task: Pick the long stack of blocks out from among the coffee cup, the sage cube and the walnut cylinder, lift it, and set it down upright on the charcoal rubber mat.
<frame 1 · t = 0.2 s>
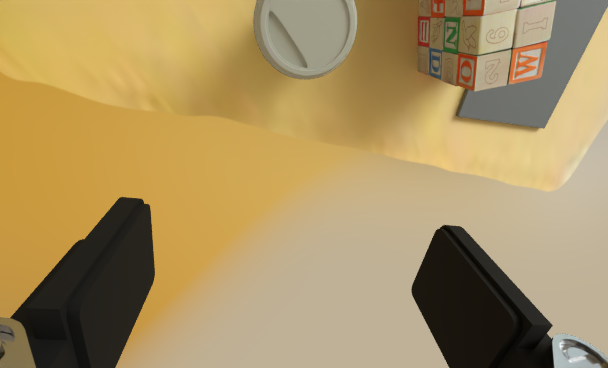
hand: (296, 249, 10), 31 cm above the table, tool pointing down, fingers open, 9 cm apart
charcoal mat: (549, 9, 36), on the table
coffee cup: (296, 23, 35), on the table
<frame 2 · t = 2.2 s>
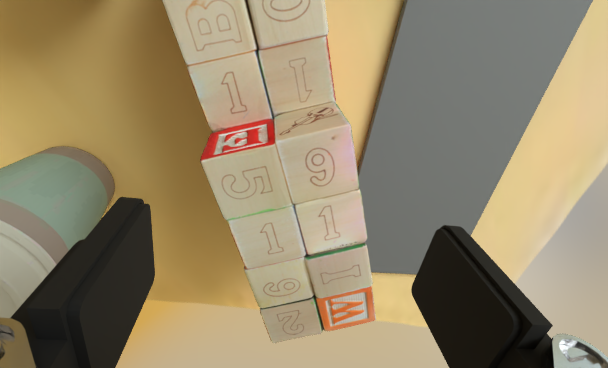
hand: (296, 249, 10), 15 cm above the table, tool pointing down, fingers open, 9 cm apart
stack of blocks: (276, 100, 24), on the table
charcoal mat: (437, 151, 27), on the table
coffee cup: (76, 179, 25), on the table
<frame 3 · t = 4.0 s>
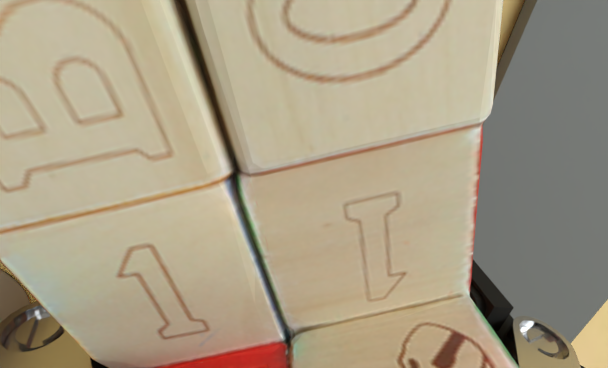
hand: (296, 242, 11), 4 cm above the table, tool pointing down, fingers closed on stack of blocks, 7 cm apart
stack of blocks: (286, 171, 14), on the table, touching gripper
charcoal mat: (535, 242, 17), on the table
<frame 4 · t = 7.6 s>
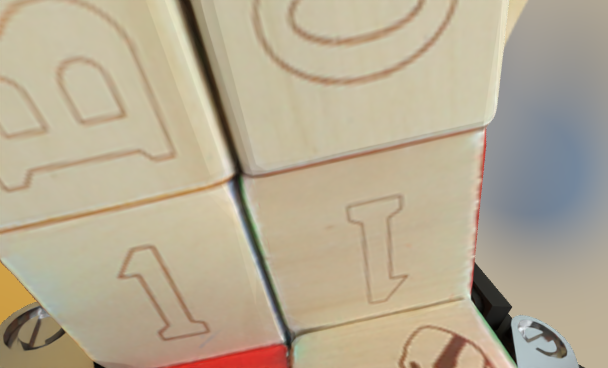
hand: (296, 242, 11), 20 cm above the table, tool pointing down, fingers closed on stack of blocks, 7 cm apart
stack of blocks: (286, 172, 14), point 16 cm above the table, touching gripper
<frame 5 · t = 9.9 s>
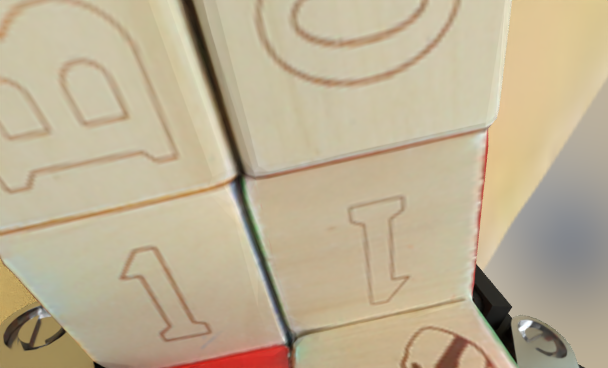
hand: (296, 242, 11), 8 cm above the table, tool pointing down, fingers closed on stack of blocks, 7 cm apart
stack of blocks: (286, 172, 14), point 4 cm above the table, touching gripper
when the fingers open (6 cm above the table, at t = 11.5 s): stack of blocks drops 1 cm, resting on charcoal mat.
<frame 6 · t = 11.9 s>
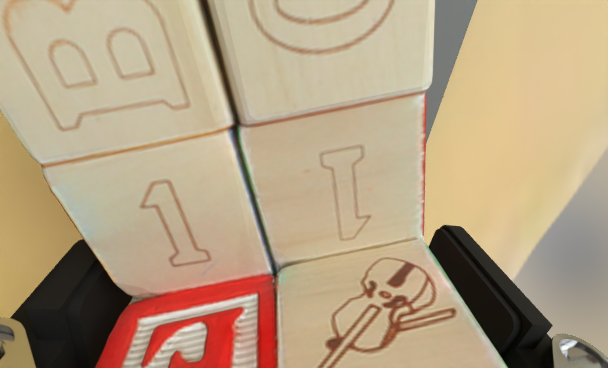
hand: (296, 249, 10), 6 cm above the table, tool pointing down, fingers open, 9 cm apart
stack of blocks: (280, 157, 15), resting on charcoal mat
charcoal mat: (287, 167, 16), on the table
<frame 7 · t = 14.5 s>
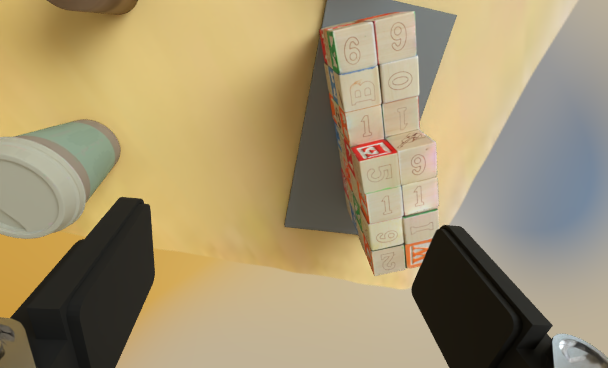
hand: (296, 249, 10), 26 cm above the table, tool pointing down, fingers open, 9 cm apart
stack of blocks: (360, 125, 35), resting on charcoal mat
charcoal mat: (358, 133, 36), on the table
coffee cup: (93, 144, 35), on the table
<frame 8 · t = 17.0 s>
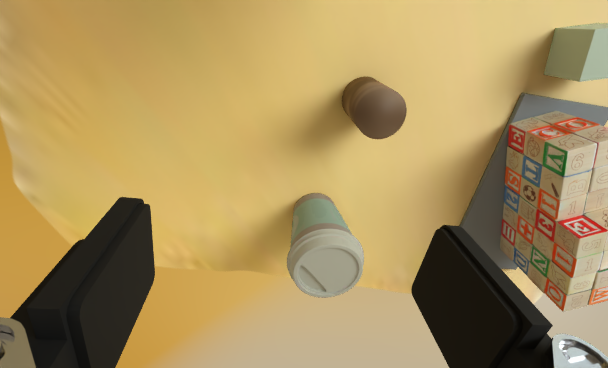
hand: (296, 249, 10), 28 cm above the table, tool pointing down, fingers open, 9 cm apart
sage cube: (569, 49, 36), on the table
stack of blocks: (523, 186, 44), resting on charcoal mat
charcoal mat: (516, 193, 45), on the table
coffee cup: (314, 210, 44), on the table
walnut cylinder: (362, 98, 37), on the table
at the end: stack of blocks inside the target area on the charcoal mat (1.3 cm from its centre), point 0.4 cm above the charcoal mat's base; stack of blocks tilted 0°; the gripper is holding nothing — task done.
